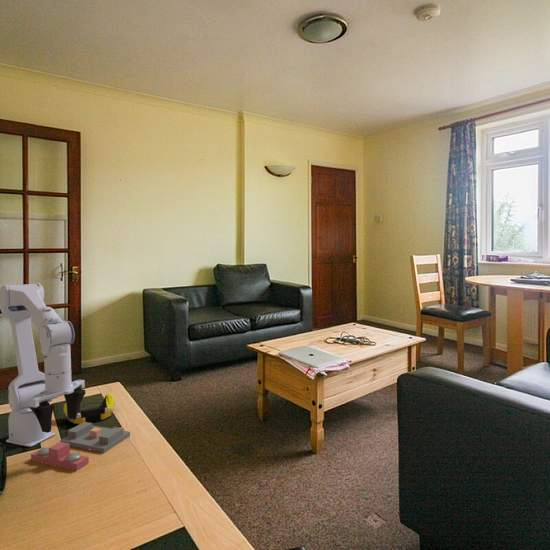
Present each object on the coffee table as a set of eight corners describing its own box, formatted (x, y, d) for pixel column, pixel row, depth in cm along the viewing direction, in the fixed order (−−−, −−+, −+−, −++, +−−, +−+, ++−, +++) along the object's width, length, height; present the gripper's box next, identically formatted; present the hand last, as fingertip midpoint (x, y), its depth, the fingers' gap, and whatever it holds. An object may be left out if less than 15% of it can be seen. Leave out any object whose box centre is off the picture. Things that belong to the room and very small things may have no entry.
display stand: (60, 444, 105) (60, 433, 105) (88, 428, 114) (88, 418, 114) (104, 452, 100) (104, 441, 100) (130, 435, 110) (129, 425, 110)
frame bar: (31, 461, 97) (30, 444, 97) (43, 455, 100) (43, 438, 100) (77, 472, 92) (76, 454, 92) (88, 464, 95) (88, 447, 95)
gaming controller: (63, 417, 123) (66, 429, 114) (62, 401, 123) (65, 411, 114) (113, 407, 131) (119, 417, 123) (112, 391, 131) (118, 400, 122)
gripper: (44, 382, 87) (46, 440, 88) (93, 364, 101) (94, 415, 101) (21, 379, 89) (23, 436, 90) (72, 362, 103) (73, 412, 104)
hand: (59, 424), depth 96 cm, fingers open, 7 cm apart
